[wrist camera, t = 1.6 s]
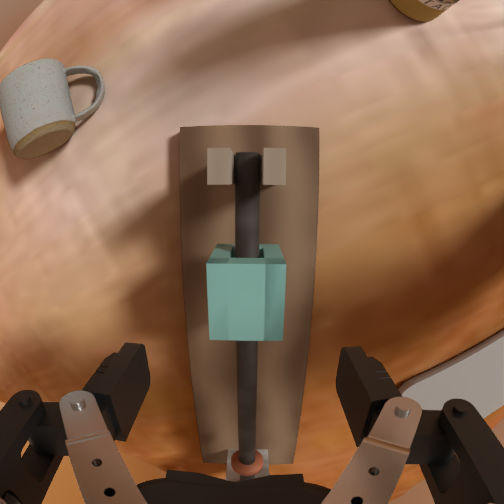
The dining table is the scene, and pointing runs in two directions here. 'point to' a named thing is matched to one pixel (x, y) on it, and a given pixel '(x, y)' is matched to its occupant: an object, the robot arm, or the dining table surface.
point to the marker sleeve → (246, 294)
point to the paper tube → (423, 8)
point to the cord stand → (247, 246)
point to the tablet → (464, 379)
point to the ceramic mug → (42, 106)
